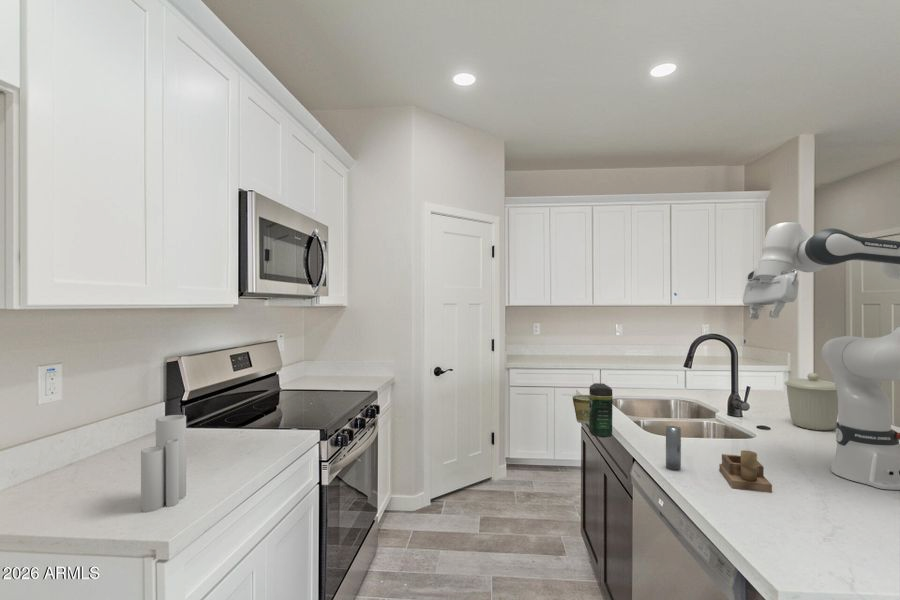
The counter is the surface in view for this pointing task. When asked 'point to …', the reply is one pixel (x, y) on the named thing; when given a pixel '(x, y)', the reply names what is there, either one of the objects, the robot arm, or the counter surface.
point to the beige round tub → (813, 402)
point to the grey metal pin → (673, 448)
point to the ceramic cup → (582, 408)
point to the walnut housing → (744, 472)
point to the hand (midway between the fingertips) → (763, 318)
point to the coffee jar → (600, 410)
